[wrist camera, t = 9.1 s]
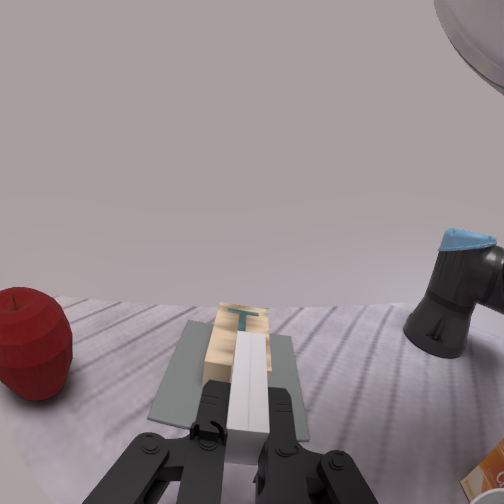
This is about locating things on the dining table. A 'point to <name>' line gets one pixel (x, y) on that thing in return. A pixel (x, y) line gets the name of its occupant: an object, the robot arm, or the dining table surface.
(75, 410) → the dining table surface
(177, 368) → the mat
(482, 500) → the coffee mug
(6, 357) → the apple
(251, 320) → the letter block
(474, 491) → the coffeecake box
